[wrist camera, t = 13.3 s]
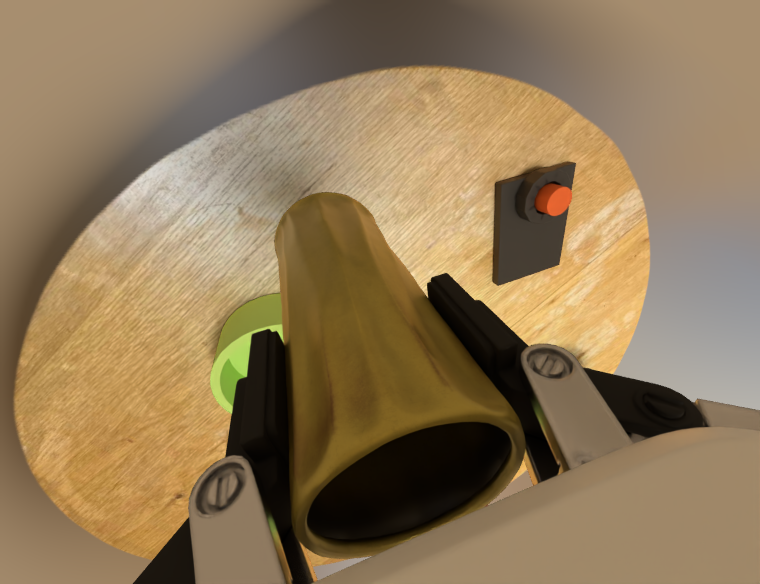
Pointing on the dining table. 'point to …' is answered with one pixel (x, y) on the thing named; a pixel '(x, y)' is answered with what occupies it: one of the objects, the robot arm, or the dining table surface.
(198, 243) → the dining table surface
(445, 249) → the dining table surface
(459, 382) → the vase
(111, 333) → the dining table surface
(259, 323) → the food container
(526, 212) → the button base plate
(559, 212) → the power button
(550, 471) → the robot arm
